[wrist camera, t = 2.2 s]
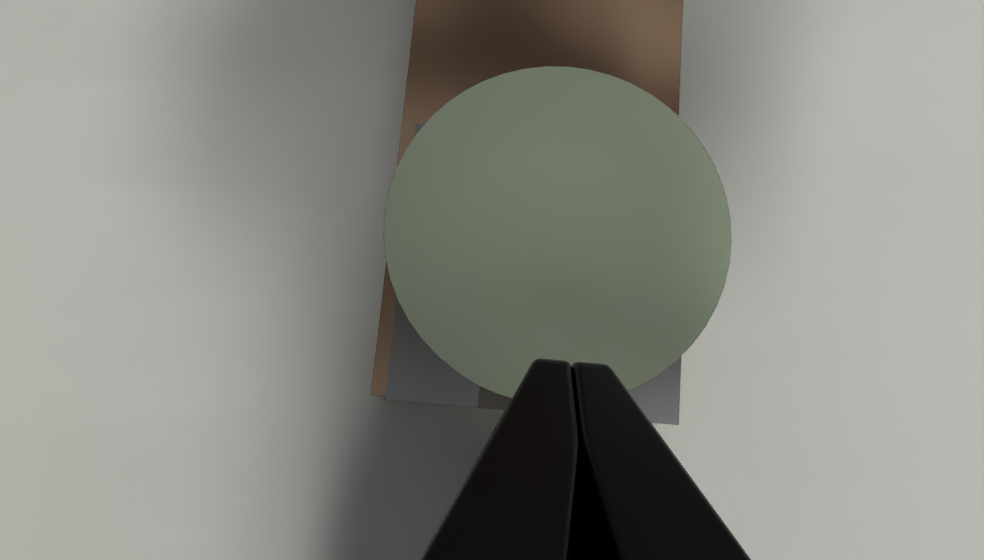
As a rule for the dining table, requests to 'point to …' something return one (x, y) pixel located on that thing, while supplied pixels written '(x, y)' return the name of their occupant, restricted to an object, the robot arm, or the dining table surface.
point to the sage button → (557, 228)
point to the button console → (489, 53)
